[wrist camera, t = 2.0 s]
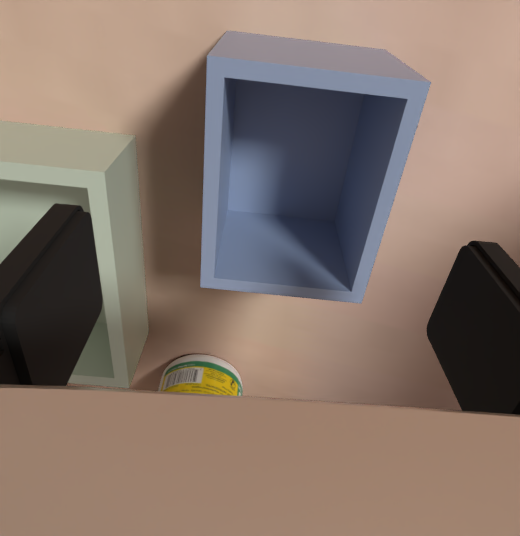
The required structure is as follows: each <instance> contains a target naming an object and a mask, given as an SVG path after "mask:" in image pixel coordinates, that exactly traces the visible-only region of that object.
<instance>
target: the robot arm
mask: <svg viewBox="0 0 520 536" xmlns="http://www.w3.org/2000/svg"><path fill="white" fill-rule="evenodd" d="M102 304H103V298H102V290H101V283H100V276H99V269H98V261H97V254H96V247H95V239H94V232H93V225H92V218H91V215H90V213H89V212H84V210H83V208H82V207H81V206H80V205H70V204H59V203H55V204H54V205H53V206H52V207H51V208H50V209H49V210H48V211H47V212H46V213H45V215H44V216H43V217H42V218H41V219H40V220H39V221H38V222H37V223H36V225H35V226H34V227H33V228H32V229H31V230H30V231H29V232H28V233H27V235H26V236H25V237H24V238H23V239H22V240H21V241H20V242H19V243H18V245H17V246H16V247H15V248H14V249H13V250H12V251H11V252H10V253H9V255H8V256H7V257H6V258H5V259H4V260H3V261H2V262H1V264H0V536H520V268H519V267H518V265H517V264H516V263H515V262H514V261H513V260H512V259H511V258H510V257H509V255H508V254H507V253H506V252H505V251H504V250H503V249H502V248H501V246H500V245H499V244H497V243H493V242H482V241H471V242H470V243H469V244H468V245H467V246H463V247H462V248H461V249H460V251H459V253H458V255H457V258H456V260H455V262H454V265H453V267H452V269H451V271H450V274H449V276H448V278H447V281H446V283H445V285H444V287H443V290H442V292H441V294H440V297H439V299H438V301H437V303H436V306H435V308H434V310H433V313H432V315H431V317H430V320H429V322H428V325H427V336H428V339H429V341H430V343H431V345H432V347H433V349H434V351H435V353H436V356H437V358H438V360H439V362H440V364H441V366H442V368H443V370H444V373H445V375H446V377H447V379H448V381H449V383H450V385H451V387H452V390H453V392H454V394H455V396H456V398H457V400H458V402H459V404H460V407H461V409H462V411H460V410H445V409H431V408H417V407H403V406H388V405H373V404H358V403H343V402H327V401H312V400H296V399H280V398H265V397H249V396H232V395H215V394H198V393H181V392H164V391H147V390H130V389H113V388H95V387H77V386H66V385H67V383H68V381H69V379H70V377H71V375H72V372H73V370H74V368H75V366H76V364H77V362H78V360H79V358H80V355H81V353H82V351H83V349H84V347H85V345H86V343H87V341H88V338H89V336H90V334H91V332H92V330H93V328H94V326H95V324H96V321H97V319H98V317H99V315H100V313H101V310H102Z"/></svg>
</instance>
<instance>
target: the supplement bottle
mask: <svg viewBox="0 0 520 536" xmlns="http://www.w3.org/2000/svg"><path fill="white" fill-rule="evenodd" d="M242 390H243V387H242V381H241V378H240V375H239V373H238V372H237V370H236V369H235V368H234V367H233V366H232V365H231V364H229V363H228V362H226V361H224V360H222V359H220V358H218V357H214V356H211V355H204V354H193V355H187V356H183V357H181V358H178V359H176V360H174V361H173V362H172V363H170V364H169V365H168V366H167V368H166V369H165V370H164V372H163V375H162V378H161V381H160V385H159V388H158V391H164V392H181V393H198V394H215V395H232V396H242Z"/></svg>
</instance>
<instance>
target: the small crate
mask: <svg viewBox="0 0 520 536" xmlns="http://www.w3.org/2000/svg"><path fill="white" fill-rule="evenodd" d="M430 84H431V82H430V81H429V80H427V79H426V78H424V77H423V76H422V75H420V74H419V73H417V72H416V71H415V70H413V69H412V68H410V67H409V66H408V65H406V64H405V63H403V62H402V61H401V60H399V59H398V58H396V57H395V56H394V55H392V54H391V53H389V52H388V51H387V50H383V49H375V48H367V47H359V46H351V45H342V44H334V43H326V42H318V41H309V40H301V39H293V38H285V37H277V36H268V35H260V34H252V33H244V32H236V31H226V33H225V34H224V35H223V36H222V38H221V39H220V40H219V41H218V43H217V44H216V45H215V46H214V47H213V49H212V50H211V51H210V52H209V54H208V55H207V74H206V109H205V143H204V178H203V212H202V247H201V282H200V287H203V288H213V289H222V290H232V291H242V292H252V293H262V294H272V295H282V296H292V297H302V298H312V299H322V300H332V301H342V302H352V303H362V300H363V296H364V293H365V290H366V287H367V284H368V281H369V277H370V274H371V271H372V268H373V265H374V262H375V258H376V255H377V252H378V249H379V246H380V243H381V239H382V236H383V233H384V230H385V227H386V223H387V220H388V217H389V214H390V211H391V208H392V204H393V201H394V198H395V195H396V192H397V189H398V185H399V182H400V179H401V176H402V173H403V170H404V166H405V163H406V160H407V157H408V154H409V151H410V147H411V144H412V141H413V138H414V135H415V131H416V128H417V125H418V122H419V119H420V116H421V112H422V109H423V106H424V103H425V100H426V97H427V93H428V90H429V87H430Z"/></svg>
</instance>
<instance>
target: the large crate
mask: <svg viewBox="0 0 520 536" xmlns="http://www.w3.org/2000/svg"><path fill="white" fill-rule="evenodd" d="M55 203H59V204H70V205H80V206H81V207H82V208H83V210H84V212H89V213H90V215H91V218H92V225H93V232H94V239H95V247H96V254H97V261H98V269H99V276H100V283H101V290H102V298H103V304H102V310H101V313H100V315H99V317H98V319H97V321H96V324H95V326H94V328H93V330H92V332H91V334H90V336H89V338H88V341H87V343H86V345H85V347H84V349H83V351H82V353H81V355H80V358H79V360H78V362H77V364H76V366H75V368H74V370H73V372H72V375H71V377H70V379H69V381H68V383H73V384H84V385H96V386H107V387H118V388H130V385H131V382H132V379H133V376H134V374H135V371H136V368H137V365H138V362H139V359H140V356H141V353H142V351H143V348H144V345H145V342H146V339H147V336H148V333H149V327H148V312H147V297H146V282H145V268H144V253H143V238H142V223H141V208H140V194H139V179H138V164H137V149H136V135H127V134H118V133H109V132H100V131H91V130H81V129H72V128H63V127H54V126H45V125H36V124H27V123H18V122H9V121H0V264H1V262H2V261H3V260H4V259H5V258H6V257H7V256H8V255H9V253H10V252H11V251H12V250H13V249H14V248H15V247H16V246H17V245H18V243H19V242H20V241H21V240H22V239H23V238H24V237H25V236H26V235H27V233H28V232H29V231H30V230H31V229H32V228H33V227H34V226H35V225H36V223H37V222H38V221H39V220H40V219H41V218H42V217H43V216H44V215H45V213H46V212H47V211H48V210H49V209H50V208H51V207H52V206H53V205H54V204H55Z"/></svg>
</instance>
